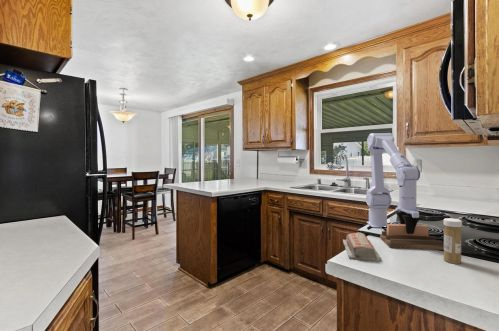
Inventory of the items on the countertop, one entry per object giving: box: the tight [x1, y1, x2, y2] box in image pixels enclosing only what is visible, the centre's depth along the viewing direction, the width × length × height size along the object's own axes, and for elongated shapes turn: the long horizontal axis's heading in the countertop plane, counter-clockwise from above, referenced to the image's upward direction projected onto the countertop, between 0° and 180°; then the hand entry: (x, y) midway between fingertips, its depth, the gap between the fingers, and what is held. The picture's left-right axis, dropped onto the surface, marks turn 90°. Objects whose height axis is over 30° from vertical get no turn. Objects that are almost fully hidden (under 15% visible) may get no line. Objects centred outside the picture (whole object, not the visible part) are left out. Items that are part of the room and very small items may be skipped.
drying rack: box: [379, 230, 444, 251], centre depth 97 cm, size 11×18×3 cm, turn 80°
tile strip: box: [386, 223, 429, 236], centre depth 100 cm, size 2×14×5 cm, turn 79°
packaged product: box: [342, 231, 382, 262], centre depth 92 cm, size 18×5×10 cm
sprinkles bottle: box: [443, 217, 463, 265], centre depth 81 cm, size 5×5×14 cm
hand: (407, 231), depth 100 cm, fingers open, 4 cm apart
